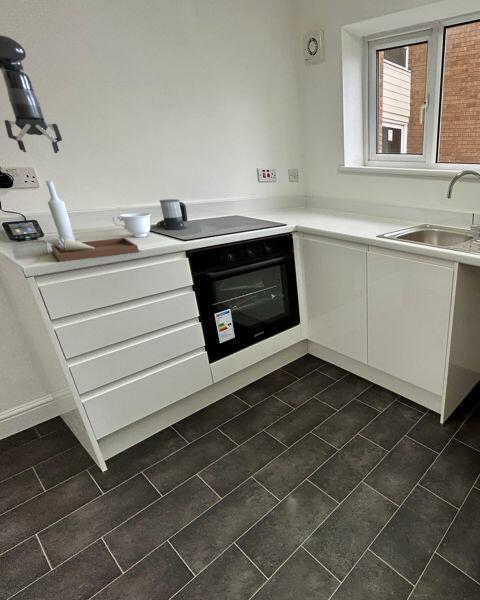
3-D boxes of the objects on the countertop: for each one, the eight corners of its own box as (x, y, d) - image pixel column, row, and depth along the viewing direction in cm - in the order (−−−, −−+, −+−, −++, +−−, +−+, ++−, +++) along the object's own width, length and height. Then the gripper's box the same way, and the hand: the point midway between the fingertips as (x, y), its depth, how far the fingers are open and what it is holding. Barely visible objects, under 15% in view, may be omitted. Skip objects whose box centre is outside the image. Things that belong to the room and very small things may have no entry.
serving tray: (59, 261, 124) (57, 254, 123) (52, 251, 136) (50, 245, 135) (138, 251, 141) (137, 245, 140) (126, 243, 153) (125, 237, 152)
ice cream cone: (94, 256, 139) (46, 250, 134) (98, 246, 141) (51, 239, 136) (89, 250, 135) (39, 242, 130) (94, 239, 137) (45, 231, 132)
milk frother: (180, 230, 185) (174, 201, 179) (148, 229, 183) (141, 200, 177) (191, 225, 198) (186, 198, 193) (161, 225, 196) (155, 197, 190)
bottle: (76, 239, 158) (58, 180, 148) (75, 241, 154) (57, 181, 145) (60, 240, 154) (41, 180, 145) (59, 242, 151) (40, 181, 142)
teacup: (116, 235, 167) (110, 214, 163) (153, 232, 176) (148, 212, 172) (118, 240, 158) (112, 217, 155) (157, 236, 168) (152, 215, 164)
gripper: (51, 107, 134) (64, 153, 139) (-4, 102, 124) (13, 151, 130) (53, 106, 129) (67, 153, 135) (-4, 100, 119) (13, 151, 125)
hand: (40, 152), depth 132 cm, fingers open, 8 cm apart
